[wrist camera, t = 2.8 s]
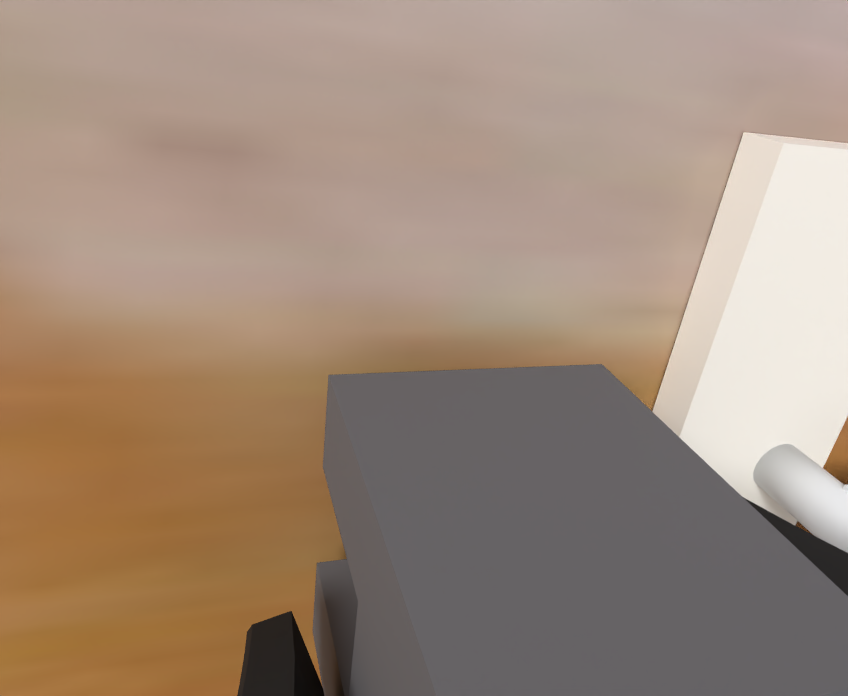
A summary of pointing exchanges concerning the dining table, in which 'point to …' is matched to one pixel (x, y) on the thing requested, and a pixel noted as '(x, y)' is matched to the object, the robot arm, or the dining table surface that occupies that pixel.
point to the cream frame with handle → (771, 334)
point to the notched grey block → (552, 550)
